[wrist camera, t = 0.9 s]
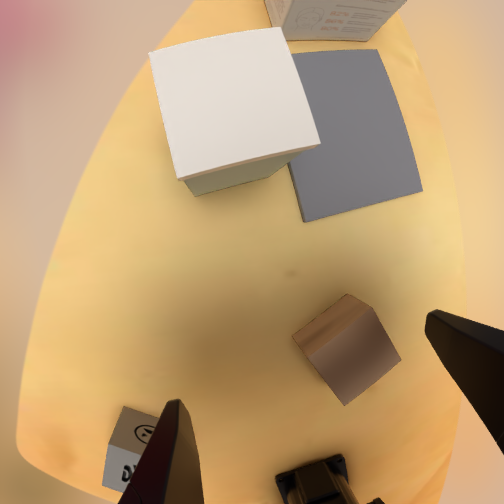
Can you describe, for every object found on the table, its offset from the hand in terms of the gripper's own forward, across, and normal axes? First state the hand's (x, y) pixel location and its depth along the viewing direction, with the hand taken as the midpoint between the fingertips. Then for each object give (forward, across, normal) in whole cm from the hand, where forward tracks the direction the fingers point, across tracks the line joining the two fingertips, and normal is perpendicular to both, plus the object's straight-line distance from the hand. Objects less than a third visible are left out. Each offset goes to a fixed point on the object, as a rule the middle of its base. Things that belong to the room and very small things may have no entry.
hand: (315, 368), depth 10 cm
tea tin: (+14, 0, -5) cm, 15 cm away
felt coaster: (+14, -9, -5) cm, 18 cm away
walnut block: (+10, -4, +9) cm, 14 cm away
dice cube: (+8, +12, +13) cm, 20 cm away
